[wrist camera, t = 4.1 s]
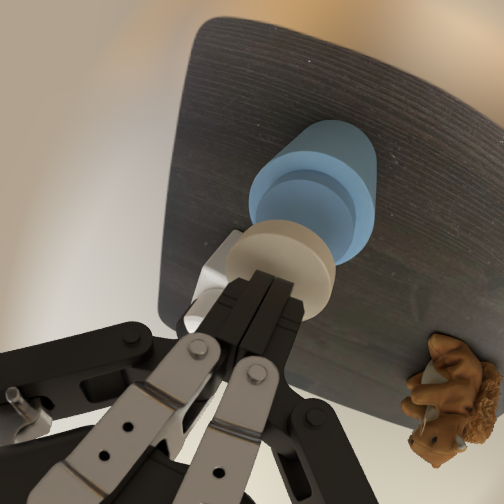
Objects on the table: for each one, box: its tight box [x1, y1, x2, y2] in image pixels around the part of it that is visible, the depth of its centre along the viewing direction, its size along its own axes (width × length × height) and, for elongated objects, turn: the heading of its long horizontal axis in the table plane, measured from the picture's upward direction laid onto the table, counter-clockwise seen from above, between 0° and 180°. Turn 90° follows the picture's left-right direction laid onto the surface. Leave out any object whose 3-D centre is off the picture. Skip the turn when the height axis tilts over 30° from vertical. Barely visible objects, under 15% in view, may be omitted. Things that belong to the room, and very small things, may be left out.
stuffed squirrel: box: [401, 334, 503, 468], centre depth 27 cm, size 10×14×13 cm
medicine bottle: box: [176, 230, 243, 339], centre depth 30 cm, size 7×7×12 cm
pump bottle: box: [249, 120, 377, 266], centre depth 21 cm, size 7×7×12 cm
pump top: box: [226, 220, 336, 321], centre depth 14 cm, size 4×4×3 cm
